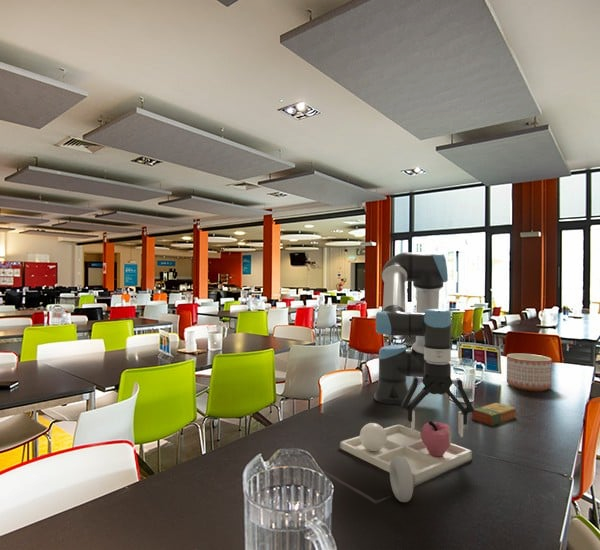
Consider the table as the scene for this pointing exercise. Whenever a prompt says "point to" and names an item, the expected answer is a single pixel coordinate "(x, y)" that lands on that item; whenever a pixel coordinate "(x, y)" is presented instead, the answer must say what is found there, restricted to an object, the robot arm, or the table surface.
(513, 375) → the planter
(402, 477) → the white thick disc
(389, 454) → the tray
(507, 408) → the carton
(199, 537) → the table surface
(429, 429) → the apple
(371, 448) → the white ball
